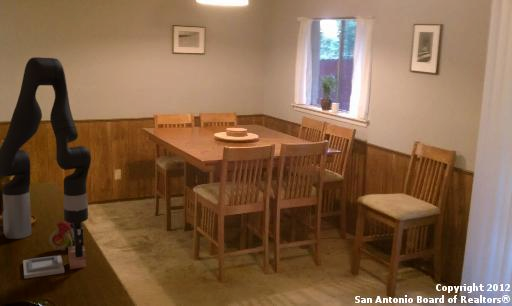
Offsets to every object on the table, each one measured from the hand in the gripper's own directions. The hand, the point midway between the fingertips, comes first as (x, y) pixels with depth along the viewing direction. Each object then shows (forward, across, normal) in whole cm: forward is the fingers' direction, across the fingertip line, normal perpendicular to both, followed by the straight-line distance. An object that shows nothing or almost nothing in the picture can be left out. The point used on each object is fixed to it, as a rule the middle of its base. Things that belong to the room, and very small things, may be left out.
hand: (77, 252), depth 173 cm
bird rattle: (+5, -15, -3) cm, 16 cm away
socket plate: (+5, -1, -11) cm, 12 cm away
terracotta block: (+5, 0, 0) cm, 5 cm away
